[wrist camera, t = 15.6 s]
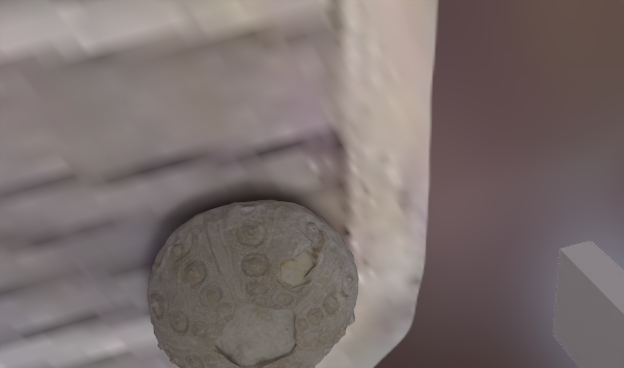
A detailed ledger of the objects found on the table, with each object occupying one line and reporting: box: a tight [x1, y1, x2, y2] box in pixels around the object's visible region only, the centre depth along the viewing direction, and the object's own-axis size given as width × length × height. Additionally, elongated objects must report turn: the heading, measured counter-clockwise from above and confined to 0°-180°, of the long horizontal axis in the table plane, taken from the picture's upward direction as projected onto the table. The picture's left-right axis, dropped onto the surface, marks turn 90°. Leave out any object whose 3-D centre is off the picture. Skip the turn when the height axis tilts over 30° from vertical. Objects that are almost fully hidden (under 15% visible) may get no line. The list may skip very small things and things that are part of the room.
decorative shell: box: [148, 200, 359, 368], centre depth 46 cm, size 18×18×10 cm
